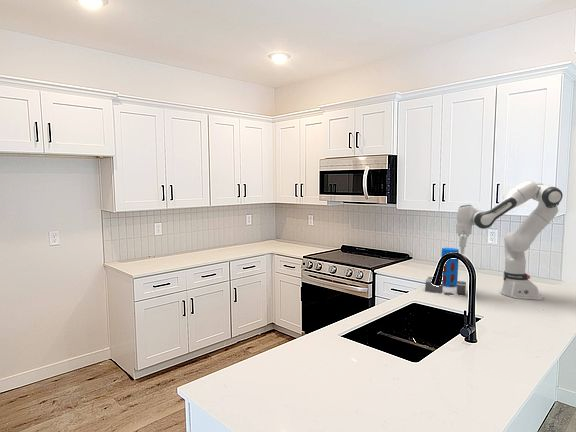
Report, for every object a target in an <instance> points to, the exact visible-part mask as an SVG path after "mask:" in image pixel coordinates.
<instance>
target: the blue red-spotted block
mask: <svg viewBox="0 0 576 432" xmlns="http://www.w3.org/2000/svg"><path fill="white" fill-rule="evenodd" d="M459 251H460V248H459V249H458V248H455V247H442V248H441V254H440V255H441V257H440V259H441V258H442V257H443V256H444V255H445V254H447V253H450V252H457V253H459ZM459 254H460V253H459ZM458 274H459V259H449V260H448V261H447V262H446V264H445V266H444V271H443V280H442V281H443V287H448V288H457V281H459V279H458V277H459V275H458Z"/></svg>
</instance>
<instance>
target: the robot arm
mask: <svg viewBox="0 0 576 432" xmlns="http://www.w3.org/2000/svg"><path fill="white" fill-rule="evenodd" d="M563 195H564V194H563V192H562V190H561V189H559V187H556V186H553V185H551V184H545V183H536V182H535V181H534V180H525V181H523V182H521V183H518V184H516V185H515V186H513V187H512V188H510V189H509V190H507V191H506V192H505V193H504V194H503V195H502V196H503V197H502V201H501V202H499V204H497V205H495V206H494V207H492V208H491V209H489V210H486V211H483V210H481V209H478V208H476V207H474V206H473V205H472V204H464V205H460V206H459V207H458V209H457V212H456V213H457V215H456V216H457V217H456V229H455V234H457V236H458V237H459V241H458V242H459V243H458V244H459V245H458V246H459V250H460V253H459V254H460V255H463V254H464V253H465V248H466V247H467V241H468V237H469V236H470V235H472V229H473V228H472V227H473V226H476V227H477V228H479V229H483V230H484V229H485V230H486V229H488V228H489V229H490V227H492V225H494V223H495V221H496V220H498V219H499V218H500V217H501V216H503V215H505V214H507V212H509V211H511V210H513V209H515V208H517V207H520V206H521V205H523V204H525V203H526V202H528V201H529V200H534V201H536V202H538V205H537V207H536V208H535V209H534V210H532V211H531V212H530V213H529V215H528V216H527V217H526V218H524V220H523V221H522V222H521V224H520V226H519V227H518V229H517V230H516V231H510V232H508V233H506V234H505V235H504V238H503V241H504V257H505V259H504V271H503V277H502V279H503V284H502V287H501V290H500V294H501V295H503V296H507V297H510V298H512V299H521V300H524V299H525V300H535V301H536V300H538V301H542V300H543V299H544V297H543V295H541V294H540V293H539V288H538V286H536V284H535V283H533V282H532V281H531V280H530V279H531V276H530V275H529V274H528V273H526V265H527V264H526V263H527V262H526V261H527V260H526V255H525V254H526V253H525V252H526V251H528V250H529V249H530V248H531V245H532V244H533V242H534V241H535V240H536V238H537V237H538V235H539V234H540V233H541V232H543V230H544V229H545V228H546V227H547V226H548V225H549V224H550V223H551V222H552V221H553V219H555V217H556V215H557V214H558V213H559V208H558V206H559V205H560V203H561V202H562V199H563Z"/></svg>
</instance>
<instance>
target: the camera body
mask: <svg viewBox="0 0 576 432" xmlns="http://www.w3.org/2000/svg"><path fill="white" fill-rule="evenodd" d="M433 277H434V276H427V277H426V279H425V284H424V285H425V287H424V288H425V289H424V290H425V292H426V291H430V292H429V293H435V292H438V294H443V291H444V290H443V289H444V286H443V281H442V284H441V286H439V287H436V286H433V285H432V284H431V280H432V278H433Z"/></svg>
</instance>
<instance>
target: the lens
mask: <svg viewBox="0 0 576 432" xmlns="http://www.w3.org/2000/svg"><path fill="white" fill-rule="evenodd" d="M466 288H467V282H466V281H464V280H457V286H456V295H457V294H458V295H457V296H460V295H465V296H466V293H467V292H466V291H467V289H466Z"/></svg>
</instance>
